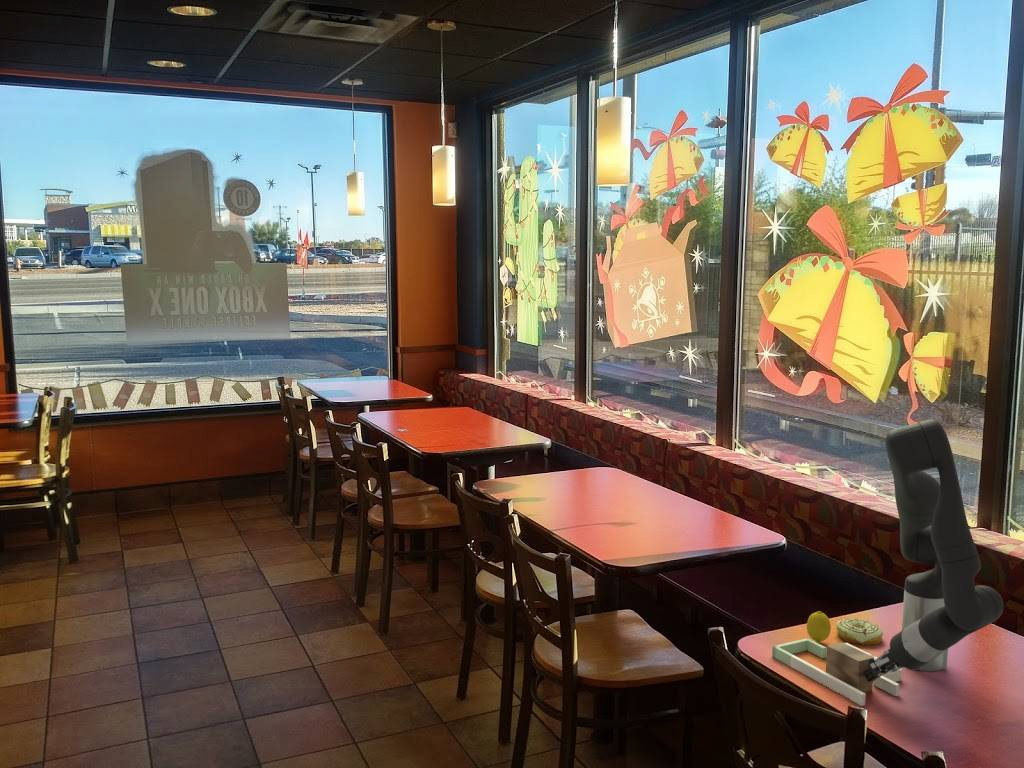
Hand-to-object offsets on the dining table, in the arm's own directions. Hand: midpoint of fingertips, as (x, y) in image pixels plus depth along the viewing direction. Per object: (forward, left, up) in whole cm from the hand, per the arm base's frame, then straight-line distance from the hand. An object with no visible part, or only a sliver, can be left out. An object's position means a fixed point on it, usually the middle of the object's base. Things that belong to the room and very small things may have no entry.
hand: (868, 676), depth 194 cm
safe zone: (+10, -17, -4) cm, 20 cm away
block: (+3, -4, -4) cm, 6 cm away
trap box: (+1, -8, -4) cm, 8 cm away
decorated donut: (-7, -30, -4) cm, 32 cm away
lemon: (+4, -26, -4) cm, 27 cm away
